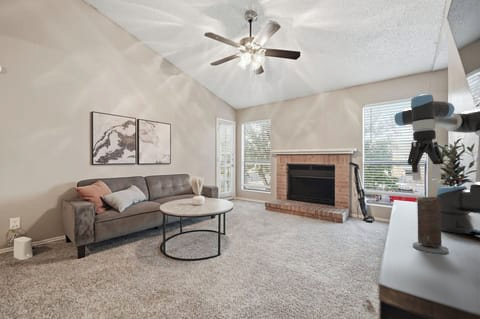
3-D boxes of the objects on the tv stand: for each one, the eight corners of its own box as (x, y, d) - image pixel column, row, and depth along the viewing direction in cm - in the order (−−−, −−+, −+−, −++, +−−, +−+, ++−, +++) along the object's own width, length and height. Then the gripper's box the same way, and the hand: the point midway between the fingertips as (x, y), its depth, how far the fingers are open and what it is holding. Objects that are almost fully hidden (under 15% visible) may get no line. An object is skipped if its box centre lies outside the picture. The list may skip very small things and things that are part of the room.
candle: (447, 250, 85) (444, 198, 86) (425, 249, 86) (422, 198, 87) (434, 243, 92) (431, 196, 93) (414, 242, 94) (412, 195, 95)
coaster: (423, 243, 96) (423, 240, 96) (455, 251, 86) (455, 249, 86) (406, 246, 93) (406, 243, 93) (437, 255, 82) (437, 253, 82)
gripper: (431, 133, 103) (434, 178, 102) (395, 131, 94) (398, 180, 94) (451, 130, 96) (455, 178, 95) (414, 128, 87) (418, 181, 86)
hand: (427, 179), depth 94 cm, fingers open, 13 cm apart
